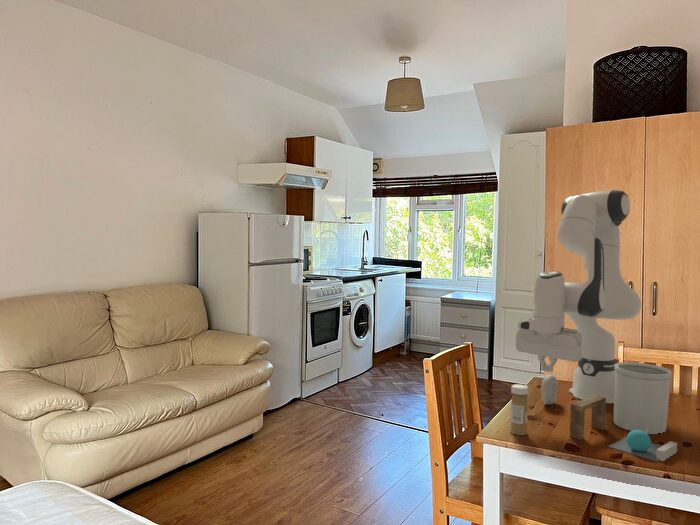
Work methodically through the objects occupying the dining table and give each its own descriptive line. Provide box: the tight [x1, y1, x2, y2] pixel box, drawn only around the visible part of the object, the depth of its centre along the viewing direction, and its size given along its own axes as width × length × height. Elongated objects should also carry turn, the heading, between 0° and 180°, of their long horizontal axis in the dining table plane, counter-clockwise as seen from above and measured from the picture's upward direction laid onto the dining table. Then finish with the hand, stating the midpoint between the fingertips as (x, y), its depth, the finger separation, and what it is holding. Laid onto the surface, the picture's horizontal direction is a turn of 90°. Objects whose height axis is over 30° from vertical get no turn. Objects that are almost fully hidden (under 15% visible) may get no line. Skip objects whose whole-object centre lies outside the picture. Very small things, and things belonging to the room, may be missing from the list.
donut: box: [540, 374, 559, 406], centre depth 177 cm, size 10×4×10 cm, turn 143°
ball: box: [626, 430, 652, 452], centre depth 138 cm, size 6×6×6 cm
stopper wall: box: [656, 440, 678, 462], centre depth 135 cm, size 9×2×2 cm, turn 130°
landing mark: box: [608, 436, 663, 463], centre depth 140 cm, size 12×12×1 cm
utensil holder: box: [613, 361, 673, 435], centre depth 157 cm, size 15×15×18 cm
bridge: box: [569, 395, 607, 441], centre depth 151 cm, size 3×14×9 cm, turn 130°
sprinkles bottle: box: [510, 383, 529, 436], centre depth 150 cm, size 5×5×13 cm
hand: (547, 371), depth 160 cm, fingers closed
